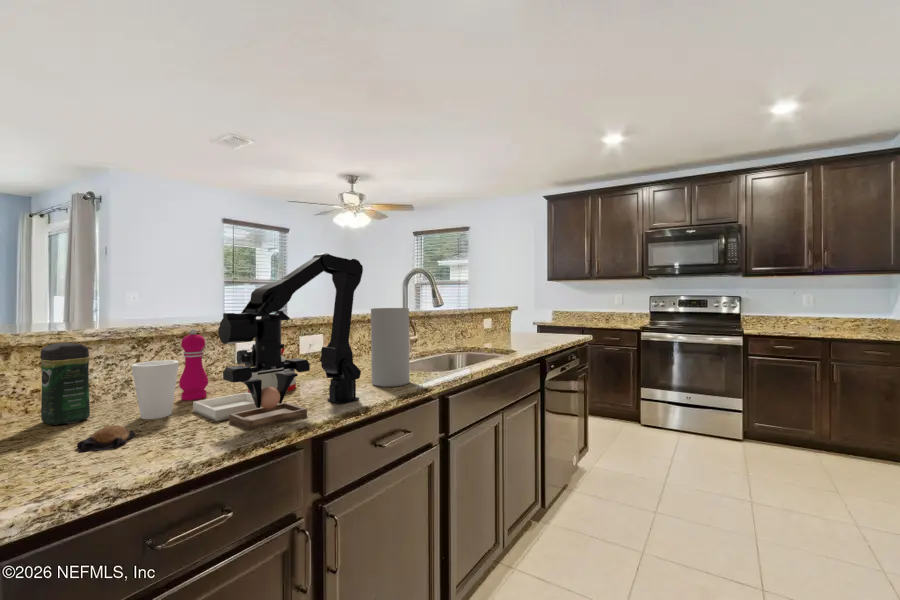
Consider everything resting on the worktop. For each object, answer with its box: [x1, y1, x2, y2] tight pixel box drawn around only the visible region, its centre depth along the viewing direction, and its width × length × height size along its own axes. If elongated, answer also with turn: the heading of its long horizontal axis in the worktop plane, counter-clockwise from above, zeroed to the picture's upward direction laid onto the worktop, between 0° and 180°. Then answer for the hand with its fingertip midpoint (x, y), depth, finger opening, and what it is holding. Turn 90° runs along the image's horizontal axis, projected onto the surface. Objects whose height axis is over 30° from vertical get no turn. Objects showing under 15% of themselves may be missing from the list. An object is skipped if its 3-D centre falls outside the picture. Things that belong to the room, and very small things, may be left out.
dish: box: [192, 391, 262, 422], centre depth 110 cm, size 14×14×2 cm
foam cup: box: [131, 359, 179, 420], centre depth 105 cm, size 10×9×13 cm
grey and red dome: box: [247, 347, 297, 393], centre depth 134 cm, size 14×14×15 cm
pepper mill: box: [178, 328, 209, 401], centre depth 124 cm, size 7×7×20 cm
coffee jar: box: [39, 342, 91, 426], centre depth 101 cm, size 10×8×19 cm
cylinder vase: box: [370, 307, 410, 388], centre depth 142 cm, size 12×12×25 cm
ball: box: [260, 387, 280, 408], centre depth 102 cm, size 5×5×5 cm
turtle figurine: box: [76, 424, 136, 454], centre depth 86 cm, size 11×8×4 cm
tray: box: [228, 402, 308, 431], centre depth 102 cm, size 14×10×2 cm
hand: (269, 405), depth 102 cm, fingers closed on ball, 5 cm apart
